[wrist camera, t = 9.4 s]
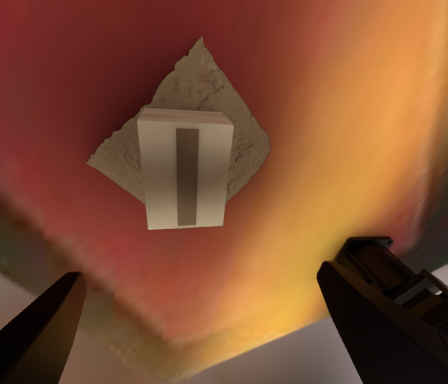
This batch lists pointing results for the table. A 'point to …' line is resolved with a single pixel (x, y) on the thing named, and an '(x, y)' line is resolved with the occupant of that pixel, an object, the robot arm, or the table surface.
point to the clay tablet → (196, 101)
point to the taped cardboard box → (184, 166)
